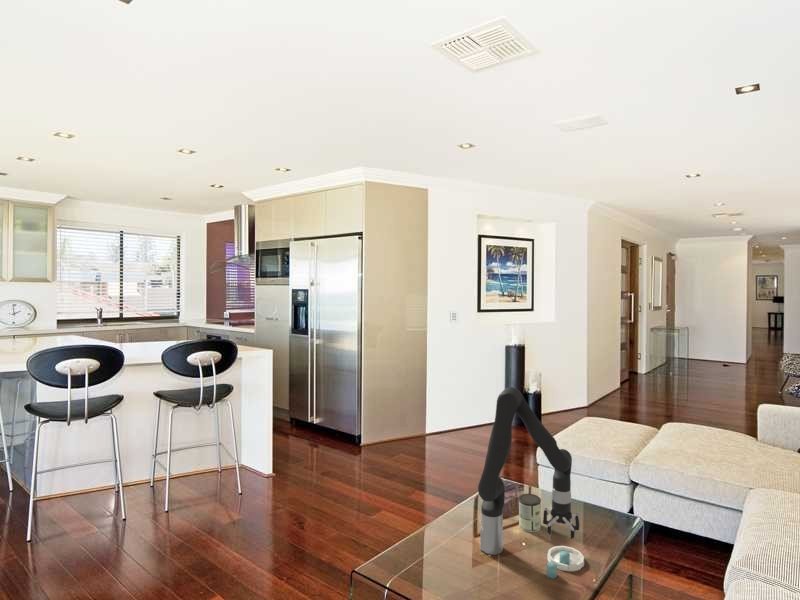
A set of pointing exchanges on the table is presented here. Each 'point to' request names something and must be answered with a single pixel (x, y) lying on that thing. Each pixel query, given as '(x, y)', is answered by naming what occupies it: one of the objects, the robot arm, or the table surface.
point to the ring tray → (575, 558)
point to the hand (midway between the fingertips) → (560, 536)
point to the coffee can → (529, 512)
